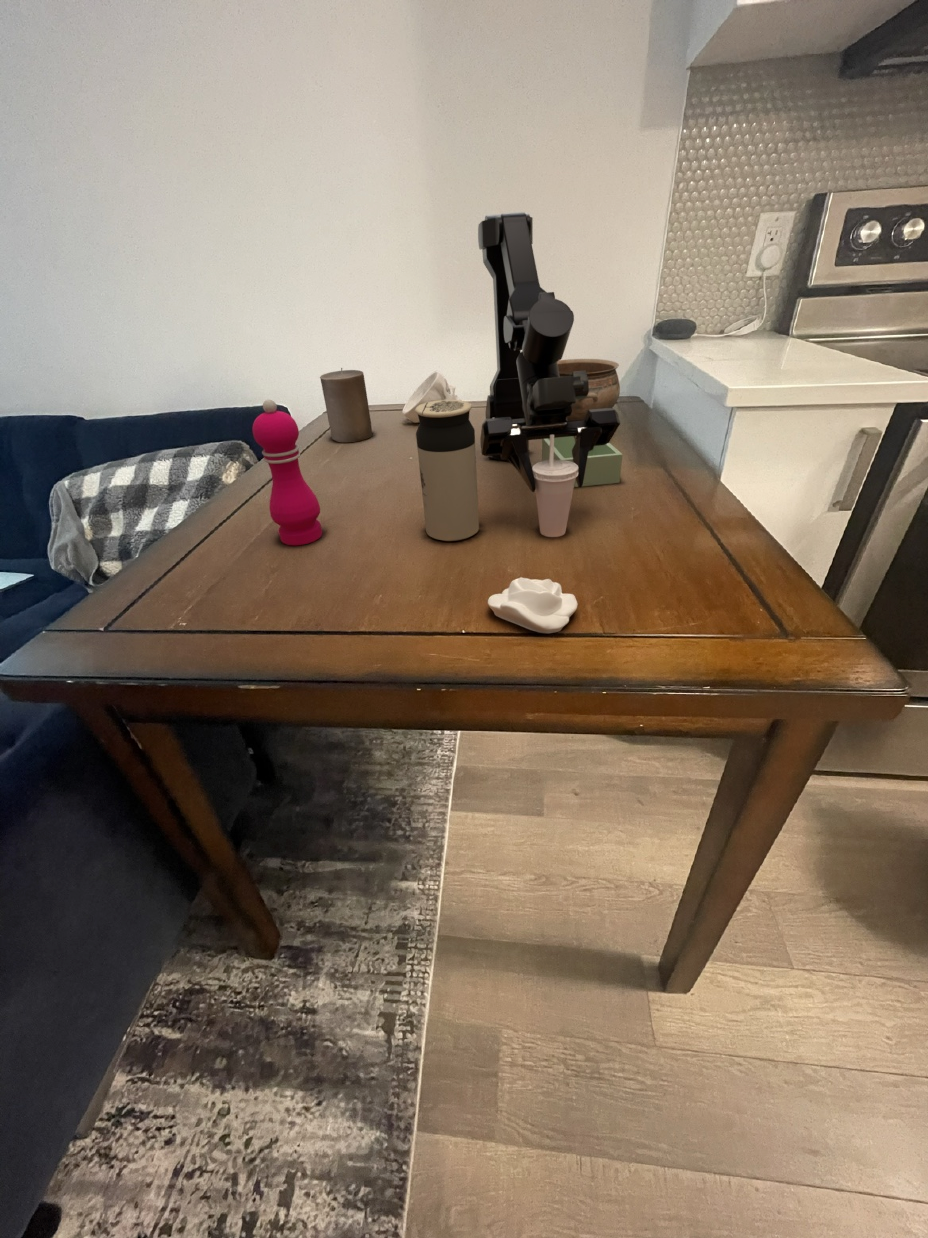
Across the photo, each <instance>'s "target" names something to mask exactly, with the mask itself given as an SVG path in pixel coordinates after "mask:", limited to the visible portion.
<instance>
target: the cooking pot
mask: <svg viewBox="0 0 928 1238" xmlns="http://www.w3.org/2000/svg"><path fill="white" fill-rule="evenodd" d="M557 364H558V370H559V375H560V377H565V376H570V375H571V374H572V373H573V372H574V371H585V370H586V373H587V377H588V382H589V393H588V395H587V396H586V397H585V398H584V399H576V403H575V404H572V405H571V407H572V413H571V415H570V416H567V422H573V421H583V420H584V418H585V416H586V414H587V411H588V410H592V409H604V408H613V409H614V406H615V405H616V404H617V402H618V401H619V397H620V393H621V386H620V380H619V375H618V372H617V369H618V368H619V366H620V364H619V363H618V362H616V361H613V360H609V359H601V358H569V359H561V360H559V361H557Z"/></svg>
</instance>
